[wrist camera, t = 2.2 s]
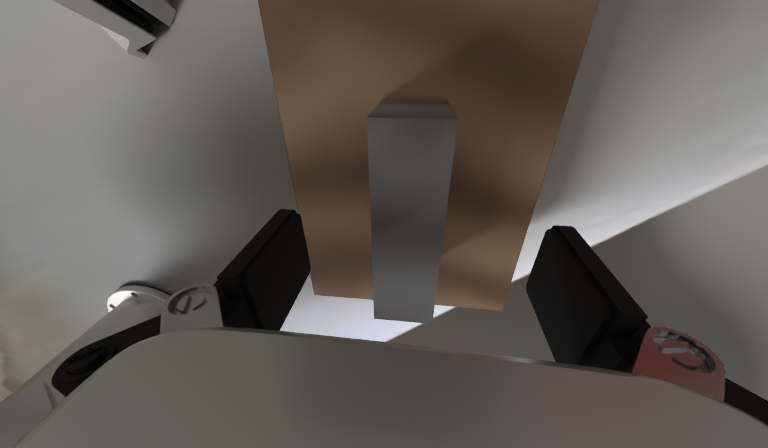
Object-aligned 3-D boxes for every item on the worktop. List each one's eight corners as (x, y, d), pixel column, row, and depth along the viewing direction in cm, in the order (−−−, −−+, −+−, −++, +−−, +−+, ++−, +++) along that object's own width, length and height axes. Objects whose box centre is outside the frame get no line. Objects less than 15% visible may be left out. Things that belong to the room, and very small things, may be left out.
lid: (498, 297, 21) (523, 379, 16) (319, 283, 22) (288, 354, 17) (588, -9, 12) (727, -62, 6) (269, 0, 13) (166, -37, 8)
